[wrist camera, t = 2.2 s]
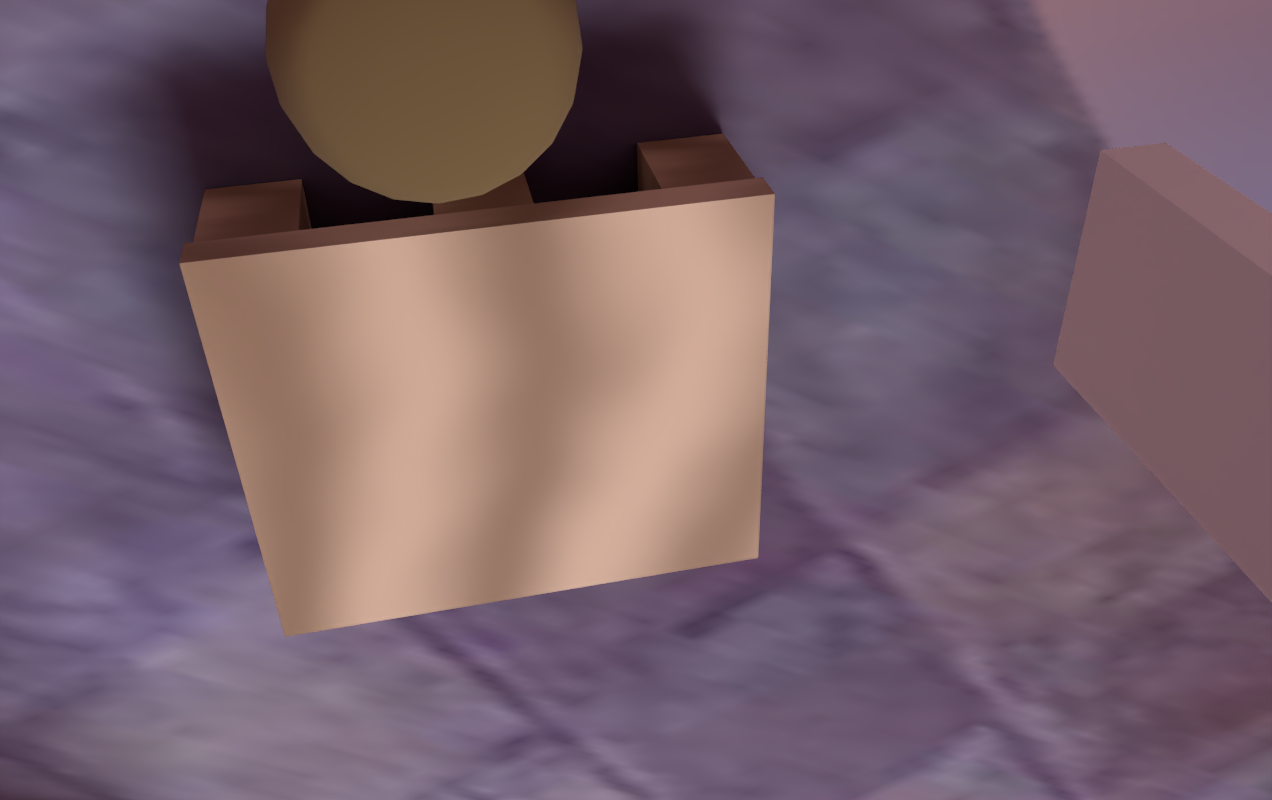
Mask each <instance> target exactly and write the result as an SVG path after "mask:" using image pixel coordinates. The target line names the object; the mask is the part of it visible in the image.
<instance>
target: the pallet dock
mask: <svg viewBox="0 0 1272 800" xmlns="http://www.w3.org/2000/svg"><path fill="white" fill-rule="evenodd" d="M637 169H638V192H631V193H622V194H613V195H604V196H595V197H587V198H578V199H569V200H560V201H552V202H543V203H533V200H532V197H531V193H530V190H529V187H528V184H527V181H526V178H525V175H524V172H523V173H522V174H521V175H519V176H517V177H515V178H514V179H512V180H510V181H508V182H506V183H504V184H502V185H500V186H498V187H497V188H495V189H493V190H491V191H489V192H487V193H485V194H483V195H480V196H475V197H470V198H464V199H459V200H454V201H449V202H444V203H439V204H438V203H432V206H433V213H434V215H429V216H420V217H412V218H403V219H394V220H385V221H377V222H368V223H359V224H350V225H342V226H333V227H324V228H315V229H312V227H311V222H310V218H309V213H308V208H307V203H306V198H305V193H304V188H303V184H302V179H297V180H288V181H278V182H269V183H260V184H250V185H241V186H232V187H223V188H213V189H205V191H204V195H203V200H202V204H201V209H200V213H199V218H198V222H197V227H196V231H195V236H194V240H193V243H184V246H183V250H182V254H181V259H180V263H179V264H180V267H181V271H182V275H183V278H184V282H185V285H186V289H187V292H188V296H189V299H190V303H191V306H192V310H193V313H194V317H195V320H196V324H197V327H198V331H199V334H200V338H201V341H202V345H203V349H204V352H205V356H206V359H207V363H208V366H209V370H210V373H211V377H212V380H213V384H214V387H215V391H216V394H217V398H218V401H219V405H220V408H221V412H222V416H223V419H224V423H225V426H226V430H227V433H228V437H229V440H230V444H231V447H232V451H233V454H234V458H235V461H236V465H237V468H238V472H239V475H240V479H241V482H242V486H243V490H244V493H245V497H246V500H247V504H248V507H249V511H250V514H251V518H252V521H253V525H254V528H255V532H256V535H257V539H258V542H259V546H260V549H261V553H262V557H263V560H264V564H265V567H266V571H267V574H268V578H269V581H270V585H271V588H272V592H273V595H274V599H275V602H276V606H277V609H278V613H279V616H280V620H281V623H282V627H283V631H284V634H285V637H286V636H292V635H298V634H304V633H310V632H316V631H322V630H328V629H334V628H340V627H346V626H352V625H358V624H364V623H370V622H376V621H382V620H388V619H394V618H400V617H406V616H412V615H418V614H424V613H430V612H436V611H442V610H448V609H454V608H460V607H466V606H472V605H478V604H484V603H490V602H496V601H502V600H508V599H514V598H520V597H526V596H532V595H538V594H544V593H550V592H556V591H562V590H568V589H574V588H580V587H586V586H592V585H598V584H604V583H610V582H616V581H622V580H628V579H634V578H640V577H646V576H652V575H658V574H664V573H670V572H676V571H682V570H688V569H694V568H700V567H706V566H712V565H718V564H724V563H730V562H736V561H742V560H748V559H754V558H758V546H759V525H760V503H761V481H762V460H763V438H764V417H765V395H766V374H767V352H768V331H769V309H770V287H771V266H772V244H773V223H774V201H775V193H774V192H773V191H772V189H771V188H770V187H769V185H768V184H767V182H766V181H765V180H764V178H763V177H762V178H755V177H754V176H753V175H752V173H751V172H750V170H749V169H748V168H747V166H746V165H745V163H744V162H743V161H742V159H741V158H740V156H739V155H738V154H737V152H736V151H735V149H734V148H733V147H732V145H731V144H730V142H729V141H728V140H727V138H726V137H725V135H724V134H715V135H706V136H697V137H687V138H678V139H669V140H659V141H650V142H641V143H637Z"/></svg>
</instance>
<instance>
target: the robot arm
mask: <svg viewBox="0 0 1272 800" xmlns="http://www.w3.org/2000/svg"><path fill="white" fill-rule="evenodd" d="M1053 366H1054V367H1055V368H1056V369H1057V370H1058V371H1059V372H1060V373H1061V374H1062V375H1063V376H1064V378H1065V379H1066V380H1067V381H1068V382H1069V383H1070V384H1071V385H1072V386H1073V387H1074V388H1075V389H1076V391H1077V392H1078V393H1079V394H1080V395H1081V396H1082V397H1083V398H1084V399H1085V400H1086V401H1087V402H1088V404H1089V405H1090V406H1091V407H1092V408H1093V409H1094V410H1095V411H1096V412H1097V413H1098V414H1099V415H1100V417H1101V418H1102V419H1103V420H1104V421H1105V422H1106V423H1107V424H1108V425H1109V426H1110V427H1111V429H1112V430H1113V431H1114V432H1115V433H1116V434H1117V435H1118V436H1119V437H1120V438H1121V439H1122V440H1123V442H1124V443H1125V444H1126V445H1127V446H1128V447H1129V448H1130V449H1131V450H1132V451H1133V452H1134V453H1135V455H1136V456H1137V457H1138V458H1139V459H1140V460H1141V461H1142V462H1143V463H1144V464H1145V465H1146V466H1147V468H1148V469H1149V470H1150V471H1151V472H1152V473H1153V474H1154V475H1155V476H1156V477H1157V478H1158V480H1159V481H1160V482H1161V483H1162V484H1163V485H1164V486H1165V487H1166V488H1167V489H1168V490H1169V491H1170V493H1171V494H1172V495H1173V496H1174V497H1175V498H1176V499H1177V500H1178V501H1179V502H1180V503H1181V504H1182V506H1183V507H1184V508H1185V509H1186V510H1187V511H1188V512H1189V513H1190V514H1191V515H1192V516H1193V517H1194V519H1195V520H1196V521H1197V522H1198V523H1199V524H1200V525H1201V526H1202V527H1203V528H1204V529H1205V530H1206V532H1207V533H1208V534H1209V535H1210V536H1211V537H1212V538H1213V539H1214V540H1215V541H1216V542H1217V544H1218V545H1219V546H1220V547H1221V548H1222V549H1223V550H1224V551H1225V552H1226V553H1227V554H1228V555H1229V557H1230V558H1231V559H1232V560H1233V561H1234V562H1235V563H1236V564H1237V565H1238V566H1239V567H1240V568H1241V570H1242V571H1243V572H1244V573H1245V574H1246V575H1247V576H1248V577H1249V578H1250V579H1251V580H1252V581H1253V583H1254V584H1255V585H1256V586H1257V587H1258V588H1259V589H1260V590H1261V591H1262V592H1263V593H1264V595H1265V596H1266V597H1267V598H1268V599H1269V600H1270V601H1271V602H1272V214H1271V213H1270V212H1268V211H1267V210H1265V209H1264V208H1262V207H1261V206H1259V205H1258V204H1256V203H1255V202H1253V201H1252V200H1250V199H1249V198H1247V197H1246V196H1244V195H1243V194H1241V193H1240V192H1238V191H1237V190H1235V189H1234V188H1232V187H1231V186H1229V185H1228V184H1226V183H1225V182H1223V181H1222V180H1220V179H1219V178H1217V177H1216V176H1214V175H1213V174H1211V173H1210V172H1208V171H1207V170H1205V169H1204V168H1202V167H1201V166H1199V165H1198V164H1196V163H1195V162H1194V161H1192V160H1191V159H1189V158H1187V157H1186V156H1184V155H1183V154H1182V153H1180V152H1178V151H1177V150H1175V149H1174V148H1172V147H1171V146H1170V145H1168V144H1167V143H1160V144H1151V145H1142V146H1133V147H1124V148H1115V149H1106V150H1101V151H1100V155H1099V160H1098V164H1097V169H1096V174H1095V178H1094V183H1093V187H1092V192H1091V196H1090V201H1089V205H1088V210H1087V214H1086V219H1085V223H1084V228H1083V232H1082V237H1081V241H1080V246H1079V250H1078V255H1077V259H1076V264H1075V269H1074V273H1073V278H1072V282H1071V287H1070V291H1069V296H1068V300H1067V305H1066V309H1065V314H1064V318H1063V323H1062V327H1061V332H1060V336H1059V341H1058V345H1057V350H1056V354H1055V359H1054V364H1053Z"/></svg>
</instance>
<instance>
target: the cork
mask: <svg viewBox="0 0 1272 800" xmlns="http://www.w3.org/2000/svg"><path fill="white" fill-rule="evenodd" d="M582 50H583V47H582V40H581V33H580V26H579V19H578V12H577V5H576V0H268V2H267V6H266V46H265V58H266V61H267V64H268V68H269V71H270V74H271V77H272V81H273V84H274V87H275V90H276V94H277V97H278V100H279V103H280V106H281V107H282V109H283V110H284V111H285V113H286V114H287V116H288V117H289V119H290V120H291V122H292V123H293V124H294V126H295V127H296V129H297V130H298V132H299V133H300V134H301V136H302V137H303V139H304V140H305V142H306V143H307V145H308V146H309V147H310V149H311V150H312V152H313V153H314V154H315V155H316V156H318V157H319V158H320V159H321V160H323V161H324V162H325V163H327V164H328V165H329V166H330V167H332V168H333V169H334V170H335V171H337V172H338V173H339V174H341V175H342V176H343V177H344V178H346V179H347V180H348V181H349V182H351V183H353V184H356V185H358V186H361V187H364V188H366V189H369V190H371V191H374V192H376V193H379V194H381V195H384V196H386V197H389V198H391V199H394V200H405V201H416V202H427V203H438V204H439V203H444V202H449V201H454V200H459V199H464V198H470V197H475V196H480V195H483V194H485V193H487V192H489V191H491V190H493V189H495V188H497V187H498V186H500V185H502V184H504V183H506V182H508V181H510V180H512V179H514V178H515V177H517V176H519V175H521V174H522V173H523V172H524V171H525V170H526V169H527V168H528V167H529V166H530V165H531V164H532V163H533V162H534V161H535V160H536V159H537V158H538V157H539V156H540V155H541V154H542V153H543V152H544V151H545V150H546V149H547V148H548V147H549V146H550V145H551V144H552V143H553V141H554V139H555V137H556V135H557V133H558V132H559V130H560V128H561V126H562V124H563V122H564V120H565V118H566V116H567V114H568V112H569V110H570V108H571V107H572V105H573V101H574V96H575V91H576V85H577V79H578V73H579V67H580V62H581V56H582Z"/></svg>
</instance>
